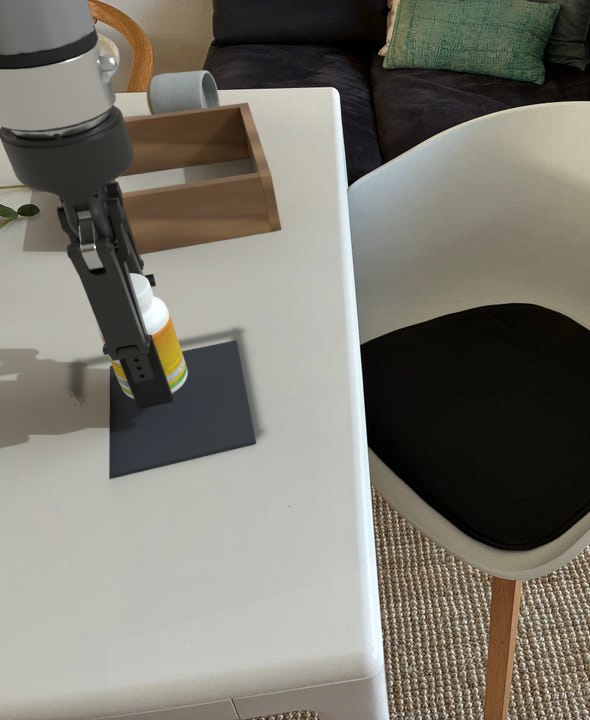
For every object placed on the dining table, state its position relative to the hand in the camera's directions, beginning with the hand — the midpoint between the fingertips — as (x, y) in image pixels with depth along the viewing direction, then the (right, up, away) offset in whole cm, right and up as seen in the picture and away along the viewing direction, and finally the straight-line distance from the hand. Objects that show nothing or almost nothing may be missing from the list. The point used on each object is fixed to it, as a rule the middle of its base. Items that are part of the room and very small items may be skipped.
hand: (154, 378), depth 66 cm
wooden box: (-9, +21, +30) cm, 37 cm away
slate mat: (0, -3, +2) cm, 4 cm away
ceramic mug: (-14, +34, +45) cm, 58 cm away
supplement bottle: (0, 0, 0) cm, 1 cm away
